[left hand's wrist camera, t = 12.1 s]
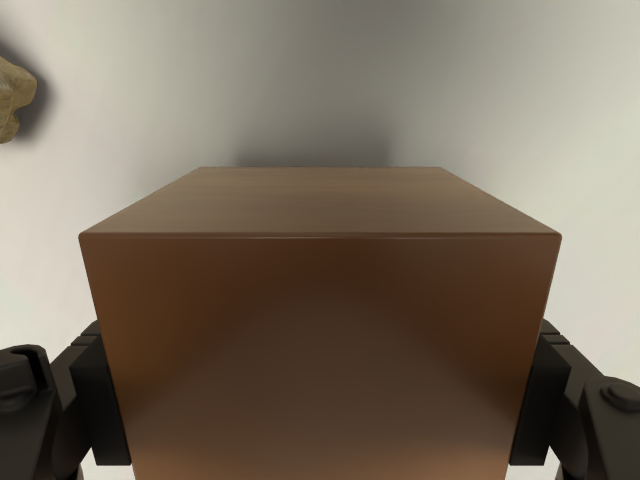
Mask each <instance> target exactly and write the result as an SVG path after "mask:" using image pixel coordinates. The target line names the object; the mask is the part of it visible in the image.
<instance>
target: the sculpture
mask: <svg viewBox="0 0 640 480" xmlns="http://www.w3.org/2000/svg"><path fill="white" fill-rule="evenodd" d="M36 88H37V80H36V78H35V77H34V76H33V75H31V74H30V73H29V72H28V71H27V70H25V69H24V68H22V67H20V66H16V65H13V64H11V63H9V62H8V61H7V60H5V59H4V58H2V57H1V56H0V144H2V143H6V142H9V141H11V140H12V139H13V138H14V136H15V134H16V133H17V131H18V129H19V127H20V122H19V119H18V117H17V116H16V115H14V112H15V111H16V110H17V109H18V108H21V107H23V106H26V105H28V104H30V103H31V102H32V100H33V98H34V95H35V92H36Z"/></svg>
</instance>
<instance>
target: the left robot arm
mask: <svg viewBox="0 0 640 480" xmlns="http://www.w3.org/2000/svg"><path fill="white" fill-rule="evenodd" d="M549 445H550V447H551V449H552V450H553V452H554V453H555V455H556V456H557V458H558V459H559V461H560V464H559V468H558V471H557V474H556V477H555V480H640V387H638V386H636V385H634V384H632V383H630V382H627V381H624V380H621V379H618V378H615V377H608V376H604V375H603V374H602V373H601V372H600V371H599V370H598V369H597V368H596V367H595V366H594V365H593V364H592V363H591V362H590V361H589V360H588V359H586V358H585V357H584V356H583V355H582V354H581V353H580V352H579V351H578V350H577V349H576V348H575V347H574V346H573V345H570V342H569V341H568V340H567V339H566V338H565V337H564V336H563V335H560V332H559V331H558V330H557V329H556V328H555V327H554V326H553V325H552V324H551V323H550V322H548V321H547V320H545V319H543V321H542V325H541V329H540V333H539V337H538V342H537V346H536V350H535V354H534V358H533V363H532V367H531V371H530V375H529V379H528V384H527V388H526V392H525V396H524V400H523V405H522V409H521V413H520V417H519V421H518V426H517V430H516V434H515V438H514V442H513V447H512V451H511V455H510V459H509V464H510V466H544V462H545V459H546V455H547V452H548V449H549ZM91 447H92V451H93V454H94V458H95V461H96V465H97V466H130V465H131V463H132V462H131V458H130V454H129V450H128V446H127V441H126V437H125V433H124V429H123V424H122V420H121V416H120V412H119V408H118V403H117V399H116V395H115V391H114V387H113V382H112V378H111V374H110V370H109V365H108V361H107V357H106V353H105V349H104V344H103V340H102V336H101V332H100V328H99V323H98V320H96V321H94V322H92V323H91V324H90V325H89V326H88V327H87V328H86V329H85V330H84V331H83V332H82V333H81V336H78V337H77V338H76V339H75V340H74V341H73V342H72V343H71V346H68V347H67V348H66V349H65V350H64V351H63V352H62V353H61V354H60V355H59V356H58V357H57V358H56V359H55V360H54V361H53V362H52V363H51V364H49V360H48V357H47V354H46V350H45V349H44V348H42V347H41V346H39V345H30V344H26V345H19V346H13V347H9V348H6V349H2V350H0V480H84V477H83V471H82V468H81V464H80V463H81V462H82V460H83V459H84V457H85V455H86V454H87V452H88V451H89V449H90V448H91Z"/></svg>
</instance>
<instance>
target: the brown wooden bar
mask: <svg viewBox="0 0 640 480" xmlns="http://www.w3.org/2000/svg"><path fill="white" fill-rule="evenodd" d="M78 239H79V243H80V247H81V252H82V256H83V260H84V264H85V269H86V273H87V277H88V281H89V285H90V290H91V294H92V298H93V302H94V306H95V311H96V315H97V319H98V323H99V328H100V332H101V336H102V340H103V344H104V349H105V353H106V357H107V361H108V365H109V370H110V374H111V378H112V382H113V387H114V391H115V395H116V399H117V403H118V408H119V412H120V416H121V420H122V424H123V429H124V433H125V437H126V441H127V446H128V450H129V454H130V458H131V462H132V467H133V471H134V475H135V479H136V480H505V476H506V472H507V468H508V463H509V459H510V455H511V451H512V447H513V442H514V438H515V434H516V430H517V426H518V421H519V417H520V413H521V409H522V405H523V400H524V396H525V392H526V388H527V384H528V379H529V375H530V371H531V367H532V363H533V358H534V354H535V350H536V346H537V342H538V337H539V333H540V329H541V325H542V321H543V316H544V312H545V308H546V304H547V300H548V295H549V291H550V287H551V283H552V279H553V274H554V270H555V266H556V262H557V258H558V253H559V249H560V245H561V241H562V235H561V233H559V232H557V231H555V230H553V229H552V228H550V227H548V226H546V225H544V224H542V223H541V222H539V221H537V220H535V219H533V218H532V217H530V216H528V215H526V214H524V213H522V212H521V211H519V210H517V209H515V208H513V207H512V206H510V205H508V204H506V203H504V202H503V201H501V200H499V199H497V198H495V197H493V196H492V195H490V194H488V193H486V192H484V191H483V190H481V189H479V188H477V187H475V186H473V185H472V184H470V183H468V182H466V181H464V180H463V179H461V178H459V177H457V176H455V175H453V174H452V173H450V172H448V171H446V170H444V169H443V168H441V167H200V168H198V169H196V170H194V171H192V172H190V173H189V174H187V175H185V176H183V177H181V178H179V179H178V180H176V181H174V182H172V183H170V184H169V185H167V186H165V187H163V188H161V189H159V190H158V191H156V192H154V193H152V194H150V195H149V196H147V197H145V198H143V199H141V200H139V201H138V202H136V203H134V204H132V205H130V206H129V207H127V208H125V209H123V210H121V211H119V212H118V213H116V214H114V215H112V216H110V217H109V218H107V219H105V220H103V221H101V222H100V223H98V224H96V225H94V226H92V227H90V228H89V229H87V230H85V231H83V232H81V233H80V234H79V237H78Z"/></svg>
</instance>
